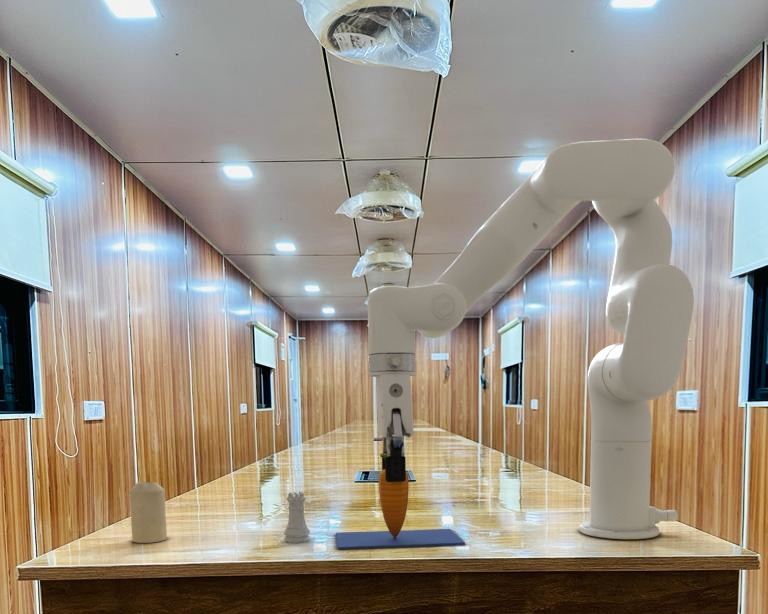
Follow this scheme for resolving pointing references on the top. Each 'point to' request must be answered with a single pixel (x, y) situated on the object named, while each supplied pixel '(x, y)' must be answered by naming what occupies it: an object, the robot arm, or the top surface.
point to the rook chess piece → (296, 520)
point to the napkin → (397, 539)
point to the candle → (148, 512)
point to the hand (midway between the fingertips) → (393, 478)
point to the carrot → (393, 501)
